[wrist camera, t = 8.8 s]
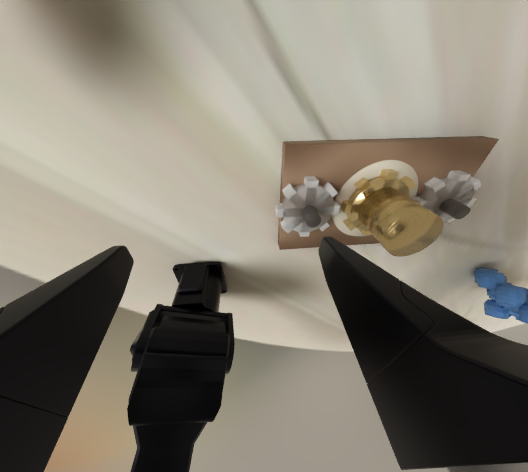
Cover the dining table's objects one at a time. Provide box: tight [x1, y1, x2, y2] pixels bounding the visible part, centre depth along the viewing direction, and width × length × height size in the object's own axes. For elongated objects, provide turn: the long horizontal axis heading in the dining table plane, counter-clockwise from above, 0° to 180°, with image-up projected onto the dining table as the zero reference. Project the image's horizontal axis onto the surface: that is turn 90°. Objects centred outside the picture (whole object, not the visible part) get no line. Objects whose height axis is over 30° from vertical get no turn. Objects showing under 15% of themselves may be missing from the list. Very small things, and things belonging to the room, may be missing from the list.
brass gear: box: [340, 169, 443, 256], centre depth 18 cm, size 7×7×6 cm
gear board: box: [276, 136, 499, 250], centre depth 20 cm, size 12×21×4 cm, turn 90°
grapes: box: [474, 268, 528, 323], centre depth 28 cm, size 12×7×12 cm, turn 59°
